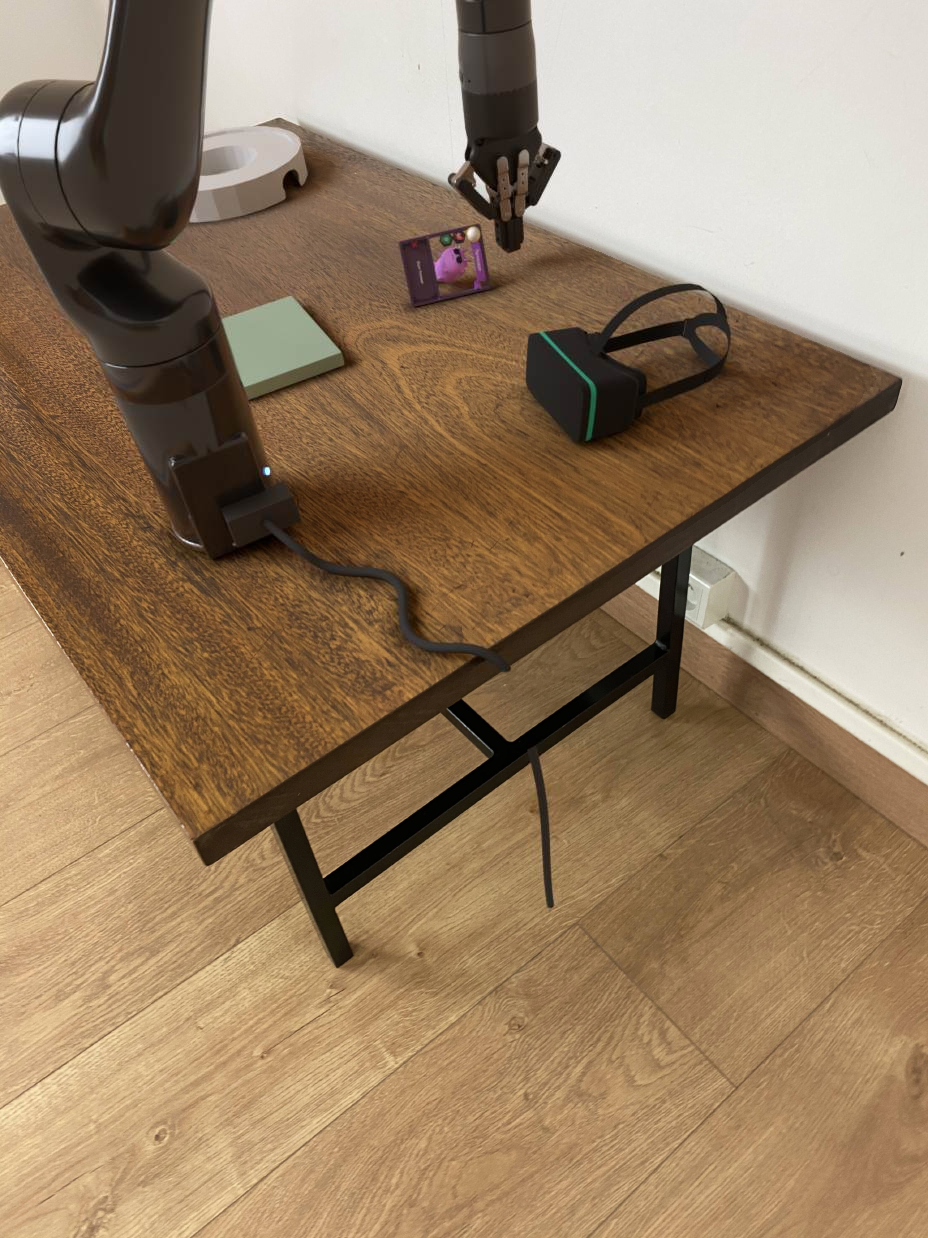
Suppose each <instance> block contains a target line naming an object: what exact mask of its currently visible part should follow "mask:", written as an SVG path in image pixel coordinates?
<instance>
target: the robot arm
mask: <svg viewBox="0 0 928 1238" xmlns="http://www.w3.org/2000/svg"><path fill="white" fill-rule="evenodd" d="M454 2H455V3H454V4H455V12H456V22H457V23H456V24H457V38H458V39H457V60H458V61H457V62H458V79H459V81H460V91H461V92H460V93H461V101H462V102H461V103H462V112H463V121H464V130H465V134H466V138H467V140H466V141H467V142H466V148H465V150H464V155H463V156H464V162H463V164H462V165H461V167H460V168H459V170H458V171H457V172H451V173H450V174H449V175H448V176H447V183H448V184H449V185H450V186H451V187H452V189H454V190H455V191H456V192H457V193H458V194H459V195H460V196H461V197H462V198H463V199H464V200H465V201H466V202H467V203H468V204H469V205H470V206H471V207H472V209H474V210H475V211H476V212H477V213H478V214H479V215H481V216H482V217H484V218H486V219H487V220H488V221H493V225H494V235H495V243H496V245H497V246H498V247H499V248H501V250H502V251H504V252H505V253H506V254H509V255H510V254H511V253H514V252H517V251H520V250H521V248H522V246H521V245H522V244H523V243H524V240H525V231H524V214H525V213H526V210H527V209H528V208H530V207H535V206H537V205H538V203H539V202H540V200H541V198H542V196H543V194H544V193H545V190H546V188H547V186H548V184H549V182H550V180H551V178H552V176H553V174H554V172H555V170H556V168H557V166H558V164H559V163H560V160H561V158H562V152H561V151H560V150H559V149H557V148H556V147H554V146H552V145H549V144H547V143H545V142H543V135H542V133H541V131H540V130H539V127H538V126H539V125H538V123H539V121H540V116H539V112H540V111H539V92H538V68H537V49H536V40H535V39H536V38H535V34H534V33H535V32H534V28H533V19H532V18H533V17H532V0H454ZM213 7H214V0H108V9H107V20H106V27H105V28H106V29H105V36H104V41H103V42H104V43H103V49H102V53H101V59H100V63H99V66H98V70H97V75H96V78H95V80H84V79H82V80H81V79H59V78H58V79H57V78H43V79H32V80H28V81H24V82H22V83H19V84H17V85H15V86H14V87H12V88H11V89H9V90H8V91H7V92H6V93H5V94H4V95H3V96H2V97H1V99H0V192H1V194H2V197H3V200H4V202H5V204H6V206H7V208H8V211H9V213H10V215H11V217H12V220H13V221H14V223H15V225H16V227H17V229H18V231H19V233H20V235H21V237H22V239H23V241H24V243H25V245H26V246H27V249H28V250H29V253H30V254H31V256H32V258H33V260H34V262H35V263H36V265H37V268H38V269H39V271H40V274H41V275H42V277H43V279H44V281H45V282H46V284H47V286H48V288H49V291H50V292H51V295H52V296H53V298H54V300H55V301H56V303H57V305H58V307H59V308H60V310H61V312H62V313H63V314H64V315H65V316H66V317H67V319H68V320H69V321H70V322H71V324H72V325H74V326H75V328H77V329H78V330H79V331H80V332H81V333H82V334H83V336H85V338H86V340H87V341H88V343H89V345H90V347H91V350H92V351H93V354H94V356H95V358H96V360H97V363H98V365H99V367H100V370H101V371H102V374H103V376H104V378H105V380H106V382H107V384H108V386H109V389H110V392H111V394H112V396H113V398H114V401H115V403H116V405H117V407H118V410H119V412H120V414H121V416H122V418H123V421H124V422H125V425H126V427H127V429H128V431H129V433H130V435H131V438H132V440H133V442H134V444H135V447H136V449H137V452H138V453H139V455H140V458H141V460H142V462H143V464H144V467H145V469H146V471H147V474H148V476H149V478H150V480H151V482H152V484H153V486H154V488H155V490H156V493H157V495H158V498H159V500H160V502H161V504H162V505H163V507H164V510H165V512H166V514H167V517H168V519H169V520H170V522H171V528H172V531H173V533H174V535H175V537H176V539H177V540H178V542H179V543H181V545H183V546H184V547H185V548H188V549H190V550H193V551H195V552H200V553H204V554H205V555H206V556H207V558H208V559H209V560H214V559H216V558H219V557H222V556H225V555H226V554H229V553H231V552H235V551H237V550H239V549H242V548H244V547H248V546H249V545H251V544H253V543H256V542H258V541H261V540H263V539H265V538H268V537H270V536H275V537H276V538H277V539H278V540H279V541H281V542H282V543H283V544H284V545H285V546H287V547H288V548H289V549H290V550H292V551H293V552H295V553H296V554H297V555H298V556H300V557H301V558H303V559H304V560H305V561H307V562H308V563H310V564H311V565H313V566H314V567H317V568H318V569H321V570H323V571H325V572H327V573H331V574H334V575H338V576H339V575H340V576H348V577H367V578H376V579H379V580H380V579H381V580H383V581H385V582H387V583H389V584H390V586H392V587H393V588H394V590H395V592H396V594H397V600H398V620H399V621H398V622H399V627H400V630H401V634H403V636H404V637H405V639H406V640H408V642H410V643H411V645H413V646H415V647H417V648H418V649H421V650H423V651H426V652H431V653H435V654H436V653H437V654H460V655H461V654H463V655H470V656H476V657H480V658H482V659H484V660H486V661H488V662H489V663H490V664H492V665H494V667H496V668H497V669H498V670H499V671H501V672H502V673H509V672H511V670H512V666H511V665H510V664H509V663H508V662H507V661H506V660H505V658H503V657H501V656H500V655H499V654H498V653H496V652H494V651H493V650H491V649H489V648H487V647H485V646H482V645H478V644H474V643H468V642H467V643H466V642H437V641H431V640H427V639H425V638H422V637H421V636H419V635H418V634H417V633H416V632H415V631H414V630H413V628H412V626H411V624H410V618H409V598H408V596H409V595H408V591H407V589H406V586H405V584H404V583H403V581H402V580H401V579H400V578H399V577H397V576H396V575H394V574H393V573H391V572H390V571H387V570H385V569H381V568H377V567H369V566H368V567H367V566H348V565H340V564H336V563H332V562H330V561H327V560H324V559H323V558H321V557H319V556H317V555H316V554H315V553H313V552H312V551H310V550H309V549H308V548H307V547H305V546H304V545H302V544H301V543H299V542H298V541H297V540H295V539H294V537H293V538H292V536H290V535H289V534H288V533H287V532H286V531H284V529H287V528H289V527H291V526H294V525H297V524H299V523H301V522H302V520H301V516H300V512H299V510H298V506H297V503H296V500H295V497H294V495H293V493H292V491H291V490H290V488H289V486H288V485H287V484H286V483H285V481H284V480H282V481H280V482H276V479H275V476H274V472H273V469H272V466H271V462H270V461H269V458H268V454H267V451H266V449H265V445H264V443H263V439H262V437H261V434H260V431H259V428H258V425H257V421H256V419H255V415H254V413H253V409H252V406H251V404H250V400H248V397H247V394H246V391H245V388H244V385H243V382H242V379H241V376H240V373H239V370H238V367H237V364H236V361H235V358H234V355H233V351H232V348H231V345H230V342H229V339H228V336H227V333H226V330H225V327H224V324H223V321H222V319H223V318H222V316H221V312H220V309H219V306H218V302H217V300H216V297H215V294H214V292H213V289H212V288H211V285H210V283H208V281H207V280H206V279H205V277H204V276H202V274H201V273H199V272H198V271H197V270H195V269H194V268H191V266H189V265H187V264H186V263H184V262H182V261H180V260H179V259H178V258H176V257H174V255H172V254H171V253H169V252H168V251H167V250H165V249H166V248H168V247H169V246H172V245H173V244H174V243H175V242H176V241H177V240H178V239H179V238H180V237H181V235H182V234H183V232H184V231H185V229H186V228H187V226H188V225H189V223H190V221H189V220H190V217H191V214H192V211H193V208H194V205H195V201H196V198H197V193H198V188H199V181H200V174H201V164H202V153H203V138H204V133H205V121H206V119H205V118H206V105H207V103H206V102H207V100H206V99H207V86H208V68H209V52H210V37H211V27H212V26H211V25H212V18H213V17H212V15H213ZM474 174H476V176H477V177H478V178H479V179H480V180H481V181H482V182H483V183H484V186H485V191H486V193H487V195H488V200H489V202H488V200H487V199H485V198H484V196H483V195H482V194H481V193H479V191H478V190H477V189H476V187H477V179H476V178H475V175H474ZM537 748H538V747H537V745H534V746H531V747H530V748H528V749H527V754H528V758H529V762H530V766H531V770H532V775H533V780H534V784H535V789H536V791H535V792H536V796H537V804H538V811H539V822H540V823H539V824H540V835H541V838H540V839H541V855H542V856H541V857H542V873H543V874H542V875H543V886H544V894H545V902H546V907H547V908H548V909H553V908H554V907H555V901H554V893H553V892H554V891H553V881H552V880H553V879H552V861H551V859H552V858H551V837H550V836H551V834H550V832H551V831H550V829H551V828H550V816H549V807H548V798H547V792H546V785H545V780H544V775H543V770H542V765H541V761H540V755H539V752H538V749H537Z"/></svg>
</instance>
